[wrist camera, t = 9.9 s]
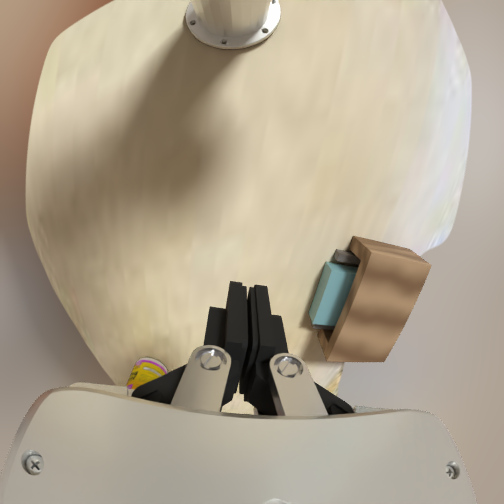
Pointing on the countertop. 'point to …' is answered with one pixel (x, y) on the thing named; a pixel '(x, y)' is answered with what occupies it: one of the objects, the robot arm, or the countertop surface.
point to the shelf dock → (374, 301)
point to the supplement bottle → (145, 372)
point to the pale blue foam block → (332, 293)
